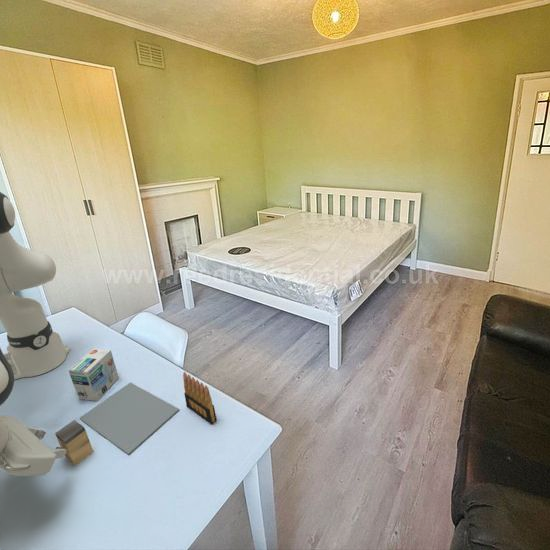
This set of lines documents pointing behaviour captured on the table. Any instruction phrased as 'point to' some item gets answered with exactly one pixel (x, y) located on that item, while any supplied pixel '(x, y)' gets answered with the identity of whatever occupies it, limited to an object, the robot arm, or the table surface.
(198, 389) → the ammunition clip
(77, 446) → the oak block
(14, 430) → the robot arm
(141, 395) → the slate mat
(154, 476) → the table surface
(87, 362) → the light bulb box
